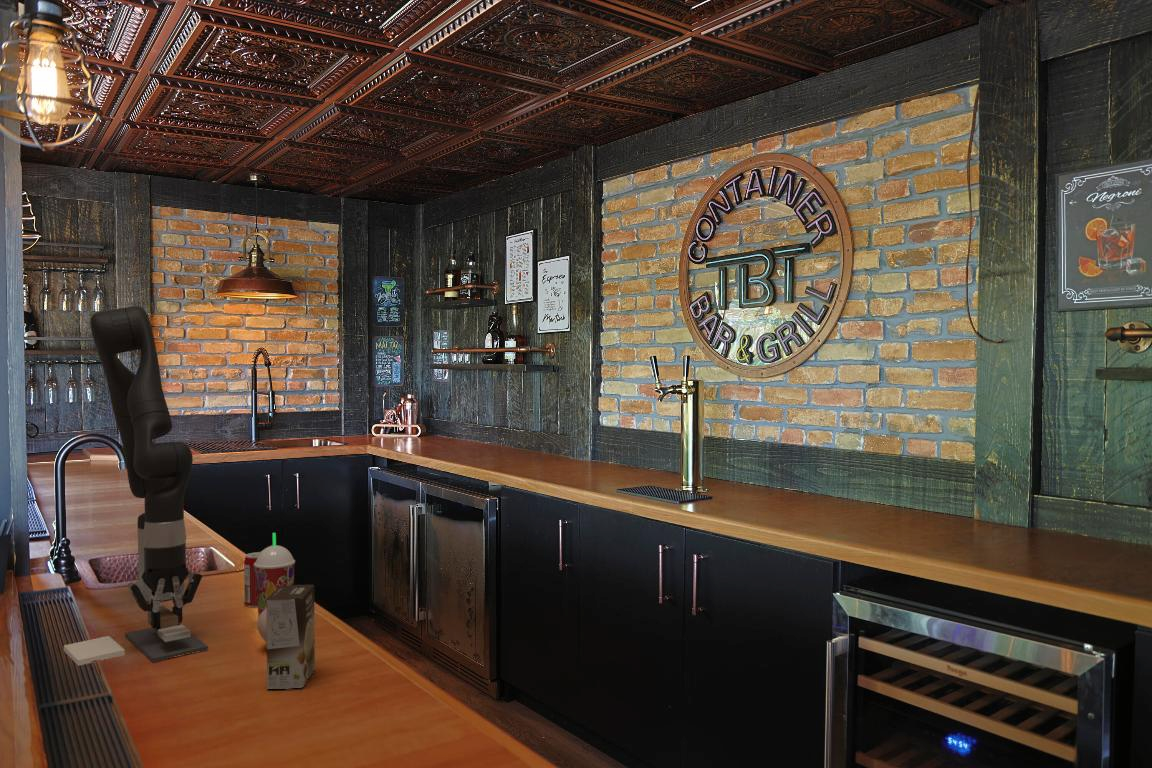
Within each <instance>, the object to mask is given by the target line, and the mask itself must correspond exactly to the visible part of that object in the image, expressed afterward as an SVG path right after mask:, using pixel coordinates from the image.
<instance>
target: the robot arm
mask: <svg viewBox="0 0 1152 768" xmlns="http://www.w3.org/2000/svg"><path fill="white" fill-rule="evenodd" d="M89 324H90V330H91V335H92V339H93V341H94V345H95V348H96V351H97V354H98V357H99V360H100V363H101V367H102V369H103V373H104V375H105V380H106V383H107V387H108V393H109V397H110V403H111V407H112V411H113V415H114V418H115V419H114V420H115V423H116V427H117V429H118V433H119V436H120V440H121V444H122V449H123V452H124V459H125V466H126V473H127V480H128V484H129V489H130V491H131V494H132V495H133V496H134V498H137V499H144V512H143V513H141V514H140V515H139V516H138V517H137V523H136V525H137V556H138V558H137V561H138V580H136V581H135V582H129V583H128V585H127V587H128V589H129V591H130V593H131V595H132V596H133V598H134V600H135V601H136V603H137V605H138V607H139V609H140V610H142V611H143V612H148V611H150V624H149V625H150V626H151V627H152V628H154V629H155V630H156V631H158V629H160V612H159V607H160V606H161V602H162V601H168V600H172V604H173V606H172V607H171V609H172V610H171V612H172V613H174V614H175V615H177V616H178V625H181V624H182V623H183V607H184V606H186V605H187V604H190V603H192V602H193V599H194V597H195V595H196V592H197V590H198V588H199V585H200V582H201V580H202V578H203V576H202V574H200V573H199V572H197V571H189V569H188V566H187V546H186V545H187V535H186V524H185V512H184V511H185V509H184V508H185V507H184V503H185V499H184V498H185V493H186V489H187V484H188V481H189V478H190V473H191V470H192V467H193V461H194V460H193V459H194V457H193V453H192V450H191V448H190V446H189V445H188V444H187V443H185V442H183V441H169V442H168V441H166V442H156V443H155V442H154V441H153V440H157V439H159V438H162V437H164V436H166V435H168V434H169V433H170V432H171V431H172V429H173V421H172V418H171V414H170V411H169V407H168V403H167V401H166V398H165V394H164V389H163V384H162V378H161V372H160V370H161V369H160V365H159V359H158V358H159V357H158V352H157V347H156V342H155V338H154V337H155V336H154V331H153V326H152V324H151V320H150V318H149V315H148V313H147V311H146V310H145V308H143V307H141V306H139V305H138V306H137V305H135V306H126V307H120V308H114V309H109V310H102V311H97V312H95V313H93V314H92V315H91V317H90V321H89ZM138 350H139V352H140V359H139V360H140V361H139V365H138V368H137V370H136V374H135V373H134V372H132V371H131V370H130V369H129V368H128V367H126V365H125V364H124V363H123V362H122V360H121V359H120V358H119V356H118V354H121V353H128V352H133V351H138ZM186 578H187V579H186ZM185 581H187V582H188V583H187V585H186V588H185ZM148 602H149V603H148ZM151 627H150V628H151Z"/></svg>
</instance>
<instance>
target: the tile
mask: <svg viewBox="0 0 1152 768" xmlns="http://www.w3.org/2000/svg"><path fill="white" fill-rule="evenodd" d="M63 652H64V653H65V654H66V655H67V656H68V657H69V658H70V659H71V661H73V662H74V663H75V664H76V665H77V666H78V667H79V666H83V665H88V664H92V663H93V662H92V661H94V660H101V661H104V659H106V660H109V658H110V659H114V658H118V657H119V658H120V657H123V656H125V655H126V650H125V649H124V648H123V646H121V645H120V644H119V643H118V642H116V641H115V640H114V639H113V638H112V637H111V636H110V635H106V636H102V637H96V638H93V639H88V640H82V641H80V642H79V641H78V642H72V643H69V644H64V645H63ZM113 657H114V658H113ZM91 662H92V663H91Z"/></svg>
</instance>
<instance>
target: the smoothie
mask: <svg viewBox="0 0 1152 768" xmlns="http://www.w3.org/2000/svg"><path fill="white" fill-rule="evenodd" d="M276 534H277V533H276V532H272V545H269V546H267V547H265V548H264V549H262V550H261V551H260V552H261V553H260V554H259V555H258V558H257V560H256V562H255V563H254V570H255V582H256V594H257V606H258V607H257V615H258V616H257V617H258V618H259V616H260V614H261V613H262V612H263V611H264V610H265V609H266V599H267V598H268V597H269V596H270V595H271V594H272V593H273V592H274V591H276V590H277V589H278V588H279V587H280V586H291V585H295V584H294V582H295V564H296V560H295V559H294V557H293V555H292V553H291V552H290V551H289V550H288V549H287V548H286V547H284V546H282V545H277V535H276ZM258 618H257V619H258Z"/></svg>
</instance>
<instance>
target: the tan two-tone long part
mask: <svg viewBox="0 0 1152 768" xmlns="http://www.w3.org/2000/svg"><path fill="white" fill-rule="evenodd" d="M159 612H160V629H158V636H159V637H160V638H161V639H163V640H164V641H165V642H168V641H173V640H177V639H182V638H187V637H191V634H192V630H191V629H189V628H188V627H186V626H185V625H184V624H180V625H178V616H177V615H175V614H174V613H172V610H170V609H169V608H167V607H166V606H165V605H160V607H159ZM147 623H148V624H149V625H150V611H147Z"/></svg>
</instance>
